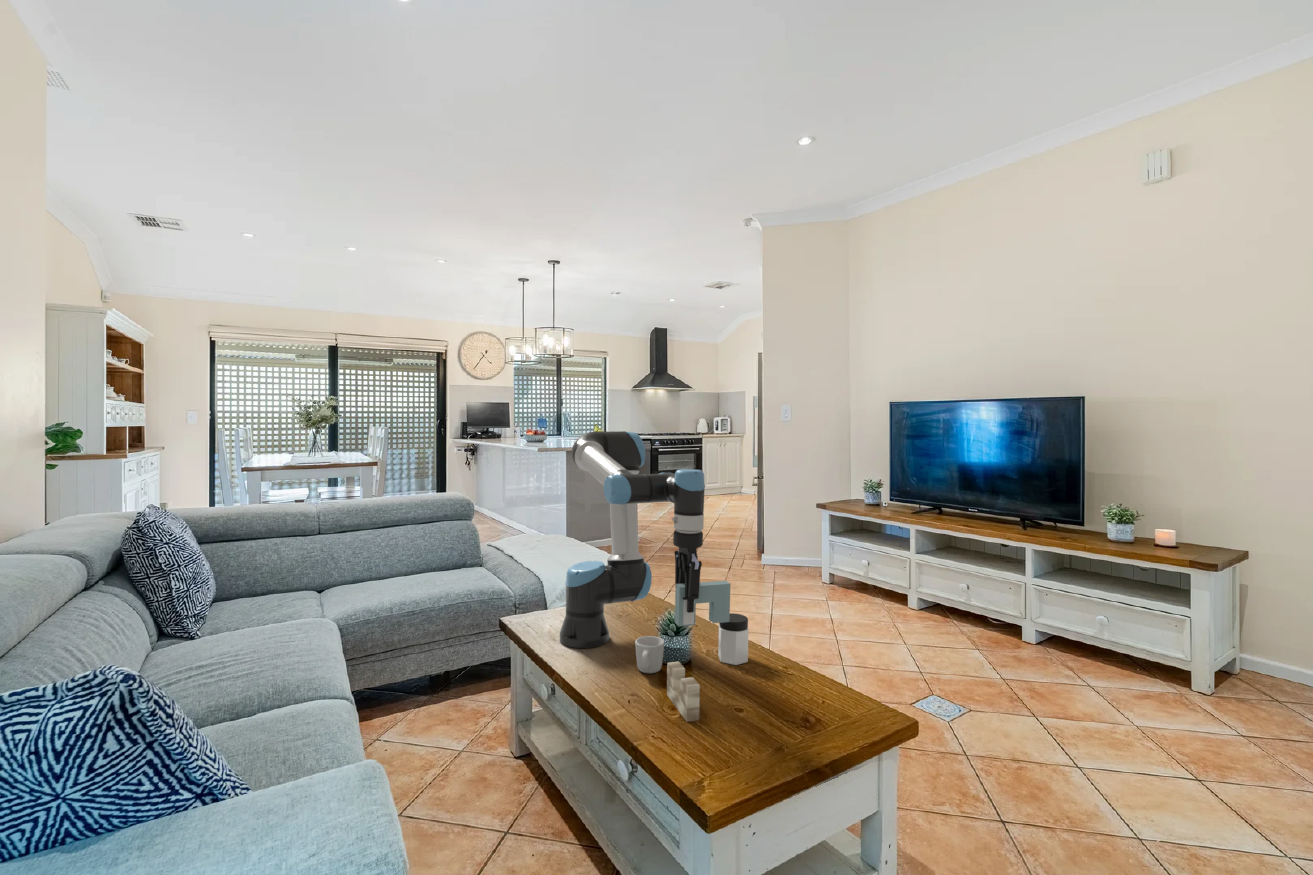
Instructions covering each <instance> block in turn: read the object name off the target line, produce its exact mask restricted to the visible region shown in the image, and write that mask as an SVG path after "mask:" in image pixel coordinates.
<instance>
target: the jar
mask: <svg viewBox="0 0 1313 875" xmlns="http://www.w3.org/2000/svg"><path fill="white" fill-rule="evenodd" d="M717 651H718V652H717V653H718V654H717V657H718V659H719V661H720V662H721V663H724V664H728V665H733V666H739V665H741V664H742V665H743V664H745V663H748V662H749V619H748V617H747V616H746V615H744V614H740V613H731V612H730V618H729V622H722V623H718V649H717Z"/></svg>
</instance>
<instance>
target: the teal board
mask: <svg viewBox="0 0 1313 875" xmlns="http://www.w3.org/2000/svg"><path fill="white" fill-rule="evenodd" d="M674 596H675V597H674V600H675V601H674V624H676V625H677V627H686V626H688V627H689V626H696V613H697V610H696V608H697V604H707V603H709V604H708V620H709V621H710V622H711V623H713V624H719V623H722V622H729V618H730V613H731V612H730V610H731V583H730V582H728V580H715V581H714V580H712V581H700V585H699V598H698V599H695V606H694V624H689V625H684V624H683V604H684V600H683V598H682V597H685V583H682V584H676V588H675V594H674Z"/></svg>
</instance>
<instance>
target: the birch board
mask: <svg viewBox="0 0 1313 875" xmlns="http://www.w3.org/2000/svg"><path fill="white" fill-rule="evenodd" d="M666 667H667V668H666V695H667V697H668V699H670V701H671V702H672V704H673V705H674V706H675V708H676V709H677V711H678V712H679V713H680V715H681V716H682V718H683V719H684V720H685V722H689V723H690V722H694V721H695V722H696V721H700V700H701V699H700V697H701V696H700V695H701V693H700V692H701V691H700V688H701V685H700V684H699V682H698V681H697V680H696V679H695V677H693V676H691V677H690V676H689V677H686V668H685V667H684V665H682V663H681V662H680V661H671V662H667V665H666Z"/></svg>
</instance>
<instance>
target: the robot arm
mask: <svg viewBox="0 0 1313 875" xmlns="http://www.w3.org/2000/svg"><path fill="white" fill-rule="evenodd" d="M646 456H647V455H646V448H645V444H644V441H643V439H642V437H641V436H640V435H639V434H638V433H636V432H632V431H625V430H624V431H598V430H597V431H596V430H595V431H588V432H586V433H583V434H582V435H581V436H580V437H578V438H577V439H576V440H575V441H574V443H573V445H572V448H571V458H572V461H573V463H574V464H575V465H576V467H578V468H579V469H580V470H582V471H585V472H588V473H589V474H590V475H591V476H592V477H593V478H595V479H596V480H597V481H598V482H599V483H600V484H601V485H602V486H603V495H604V497H605V500H606V502H607V503H608V504H609V516H610V517H609V518H610V520H609V521H610V538H611V539H610V540H611V554H610V555H609V557H608V558H607V559H606V560H607V565H605V563H604V562H603V561H600V560H588V561H582V562H578V563H575V564H573V565H571V566H570V567H569V568H568V569H567V571H566V577H565V578H566V579H565V616H564V619H563V622H562V625H561V629H560V631H559V642H560V643H561V645H563V646H565V647H568V648H573V649H591V648H598V647H600V646H603V645H606V644H607V643H608V642H609V640H610V631H609V630H610V629H609V627H608V624H607V622H606V621H607V620H606V618H605V613H604V612H605V611H604V610H605V605H607V604H616V603H625V602H635V601H639V600H644V599H645V598H647V596H648V594H649V592H650V590H651V586H652V580H653V578H652V577H653V576H652V570H651V566H650V564H649V563H648V562H646V561H645V559H644V558H645V557H644V556H643V555H642V554H641V553H640V551H639V534H638V532H639V530H638V529H639V528H638V511H637V510H638V509H637V508H638V507H637V504H646V503H647V504H651V503H672V504H674V505H673V508H674V509H673V514H674V515H673V516H674V517H672V519H671V520H672V521H673V528H674V529H675V530H674V531H673V538H672V541H673V542H672V544H673V546H674V547H676V548H678V549H677V550H674V558H675V559H674V560H675V561H674V562H675V563H674V565H675V567H674V569H675V572H674V573H675V574H674V576H675V577H674V578H675V579H674V580H675V581H674V587H675V589H676V584H682V583H685V597H682V598H683V600H684V604H683V624H684V625H689V624H694V606H695V599H698V598H699V585H700V582H701V570H702V565H703V563H702V561H701V560H699V558H698V552H697V549H698V548H701V547H703V543H704V532H703V531H704V526H705V525H704V522H705V521H704V520H705V518H704V517H705V516H704V511H705V510H704V508H705V487H706V484H705V474H704V471H703V470H701V469H694V468H692V469H691V468H681V469H680V468H679V469H677V470H676V471H675V472H674V473H673V472H671V471H669V472H660V473H649V474H648V473H647V474H646V473H645V474H644V473H643V474H641V473H640V468H642V467H643V466H644V464H645V462H646ZM639 473H640V474H639ZM702 530H703V531H702ZM689 626H690V625H689Z"/></svg>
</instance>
